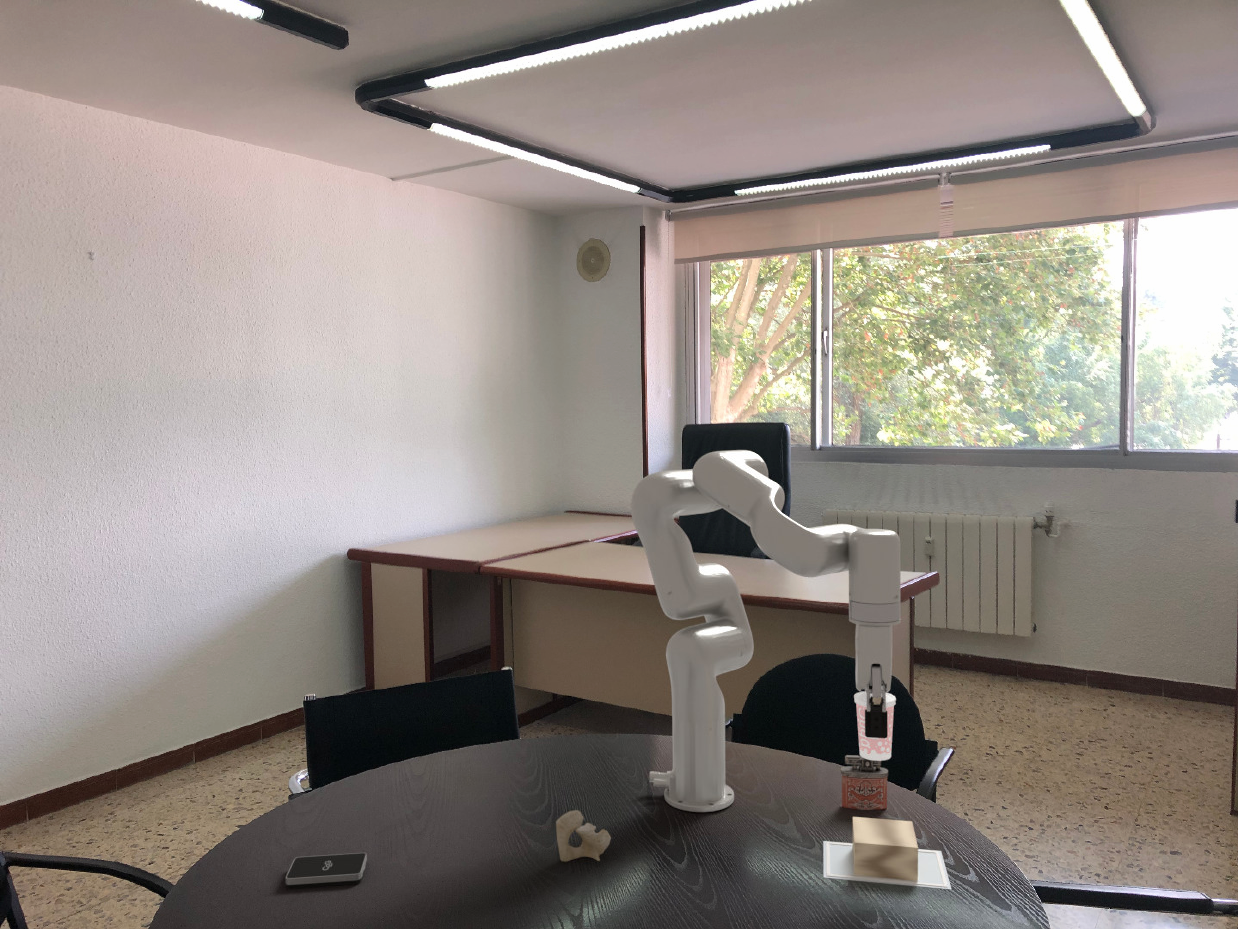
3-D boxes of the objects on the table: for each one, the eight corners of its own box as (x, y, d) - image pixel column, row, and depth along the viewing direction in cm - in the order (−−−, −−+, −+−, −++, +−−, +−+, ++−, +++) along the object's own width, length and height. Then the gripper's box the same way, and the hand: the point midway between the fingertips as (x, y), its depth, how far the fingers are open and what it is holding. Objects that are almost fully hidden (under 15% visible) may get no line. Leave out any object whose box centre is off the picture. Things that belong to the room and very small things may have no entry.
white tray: (823, 884, 138) (823, 876, 138) (823, 847, 149) (823, 840, 149) (951, 896, 134) (951, 888, 134) (941, 857, 146) (941, 850, 146)
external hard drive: (360, 887, 139) (360, 874, 139) (284, 892, 138) (283, 879, 138) (367, 865, 146) (367, 852, 146) (294, 870, 145) (294, 857, 145)
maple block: (854, 875, 138) (854, 842, 138) (852, 847, 147) (852, 816, 147) (917, 881, 136) (918, 847, 136) (912, 852, 145) (912, 821, 145)
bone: (616, 834, 152) (607, 795, 146) (613, 870, 146) (605, 831, 141) (564, 835, 153) (554, 797, 147) (560, 871, 147) (549, 833, 142)
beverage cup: (846, 752, 143) (845, 661, 142) (878, 746, 145) (878, 657, 144) (871, 765, 137) (870, 671, 136) (905, 758, 139) (904, 666, 139)
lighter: (886, 808, 164) (886, 752, 163) (889, 816, 161) (889, 759, 160) (839, 807, 165) (839, 751, 164) (842, 815, 161) (842, 758, 161)
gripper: (848, 600, 149) (848, 711, 150) (849, 623, 132) (850, 748, 133) (896, 601, 147) (897, 713, 148) (904, 624, 131) (905, 751, 131)
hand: (875, 728), depth 141 cm, fingers closed on beverage cup, 6 cm apart
